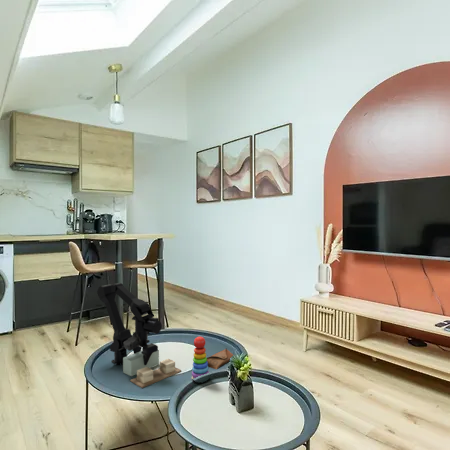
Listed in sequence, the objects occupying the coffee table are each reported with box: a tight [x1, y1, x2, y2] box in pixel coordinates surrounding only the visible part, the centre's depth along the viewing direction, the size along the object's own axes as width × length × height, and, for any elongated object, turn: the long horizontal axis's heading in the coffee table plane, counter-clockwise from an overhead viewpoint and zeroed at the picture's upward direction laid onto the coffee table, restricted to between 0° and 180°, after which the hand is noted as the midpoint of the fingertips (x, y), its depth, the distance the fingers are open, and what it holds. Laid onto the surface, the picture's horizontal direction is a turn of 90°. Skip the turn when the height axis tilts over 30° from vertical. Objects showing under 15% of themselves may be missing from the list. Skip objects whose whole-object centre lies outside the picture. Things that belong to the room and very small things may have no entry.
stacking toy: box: [191, 336, 210, 380], centre depth 144 cm, size 8×8×19 cm
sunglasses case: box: [206, 348, 234, 370], centre depth 164 cm, size 18×7×7 cm
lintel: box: [122, 349, 160, 377], centre depth 156 cm, size 6×16×7 cm, turn 142°
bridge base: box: [129, 358, 182, 389], centre depth 148 cm, size 9×21×5 cm, turn 137°
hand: (141, 362), depth 156 cm, fingers open, 6 cm apart
